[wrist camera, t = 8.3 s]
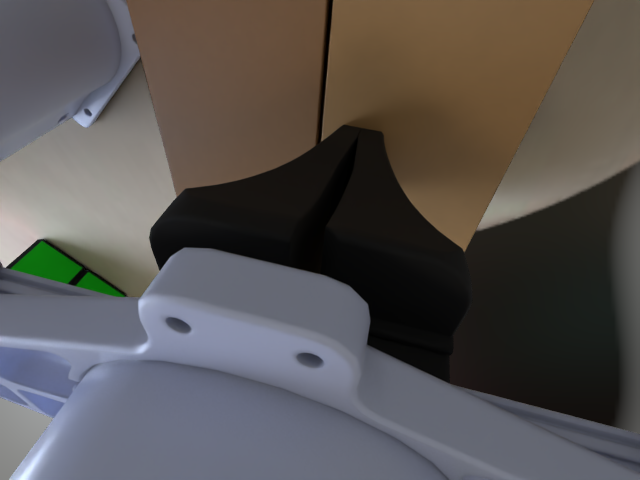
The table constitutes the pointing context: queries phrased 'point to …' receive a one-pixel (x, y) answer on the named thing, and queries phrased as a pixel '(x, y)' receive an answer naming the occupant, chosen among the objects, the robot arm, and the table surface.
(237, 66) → the carton
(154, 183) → the table surface
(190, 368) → the robot arm
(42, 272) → the puzzle cube
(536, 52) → the flap
